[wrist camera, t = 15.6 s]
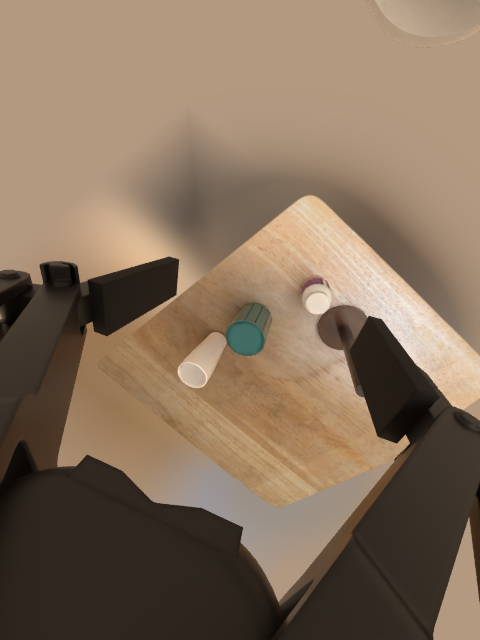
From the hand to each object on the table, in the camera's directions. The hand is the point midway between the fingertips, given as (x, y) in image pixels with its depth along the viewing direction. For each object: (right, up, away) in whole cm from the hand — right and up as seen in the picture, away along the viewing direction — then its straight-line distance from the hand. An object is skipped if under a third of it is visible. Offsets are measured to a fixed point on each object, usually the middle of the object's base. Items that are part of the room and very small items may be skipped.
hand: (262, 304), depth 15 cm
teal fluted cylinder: (+2, -1, +37) cm, 37 cm away
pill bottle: (+14, +6, +31) cm, 34 cm away
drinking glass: (-7, -6, +43) cm, 44 cm away
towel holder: (+21, -3, +32) cm, 39 cm away
